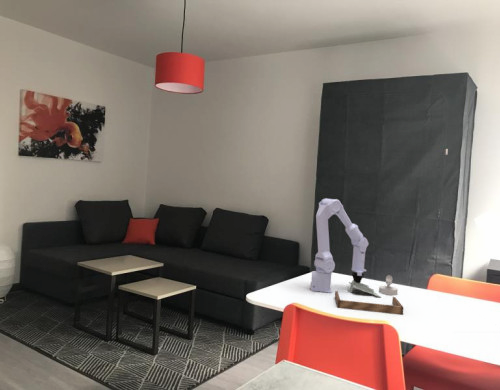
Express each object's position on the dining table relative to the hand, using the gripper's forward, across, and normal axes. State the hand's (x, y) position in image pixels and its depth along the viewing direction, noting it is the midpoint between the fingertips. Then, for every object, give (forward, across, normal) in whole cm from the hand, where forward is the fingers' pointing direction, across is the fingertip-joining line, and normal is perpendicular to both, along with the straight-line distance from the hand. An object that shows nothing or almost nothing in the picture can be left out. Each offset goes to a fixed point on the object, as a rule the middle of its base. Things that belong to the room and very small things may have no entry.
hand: (356, 287), depth 207 cm
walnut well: (+1, -29, -1) cm, 29 cm away
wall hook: (+1, -1, -15) cm, 15 cm away
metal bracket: (+2, -6, -2) cm, 7 cm away
